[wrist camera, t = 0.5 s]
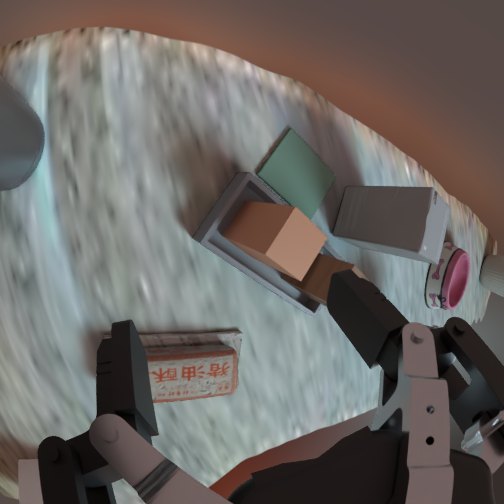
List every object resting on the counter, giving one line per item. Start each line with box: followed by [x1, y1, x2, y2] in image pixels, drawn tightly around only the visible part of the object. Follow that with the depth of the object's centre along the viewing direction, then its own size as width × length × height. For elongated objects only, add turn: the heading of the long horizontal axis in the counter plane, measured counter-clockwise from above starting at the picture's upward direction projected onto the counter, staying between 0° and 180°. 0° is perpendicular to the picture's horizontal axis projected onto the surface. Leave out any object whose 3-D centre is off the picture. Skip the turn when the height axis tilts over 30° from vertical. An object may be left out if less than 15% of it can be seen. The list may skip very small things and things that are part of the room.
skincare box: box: [333, 186, 450, 265], centre depth 36 cm, size 8×7×16 cm
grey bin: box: [193, 172, 344, 318], centre depth 36 cm, size 20×9×3 cm, turn 52°
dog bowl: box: [424, 241, 470, 310], centre depth 62 cm, size 18×19×7 cm
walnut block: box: [281, 253, 371, 306], centre depth 35 cm, size 5×5×10 cm
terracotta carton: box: [222, 200, 328, 281], centre depth 30 cm, size 5×5×10 cm
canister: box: [480, 255, 504, 297], centre depth 80 cm, size 18×18×21 cm
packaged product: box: [104, 331, 242, 403], centre depth 32 cm, size 18×5×10 cm
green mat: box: [257, 128, 336, 220], centre depth 37 cm, size 10×8×1 cm
